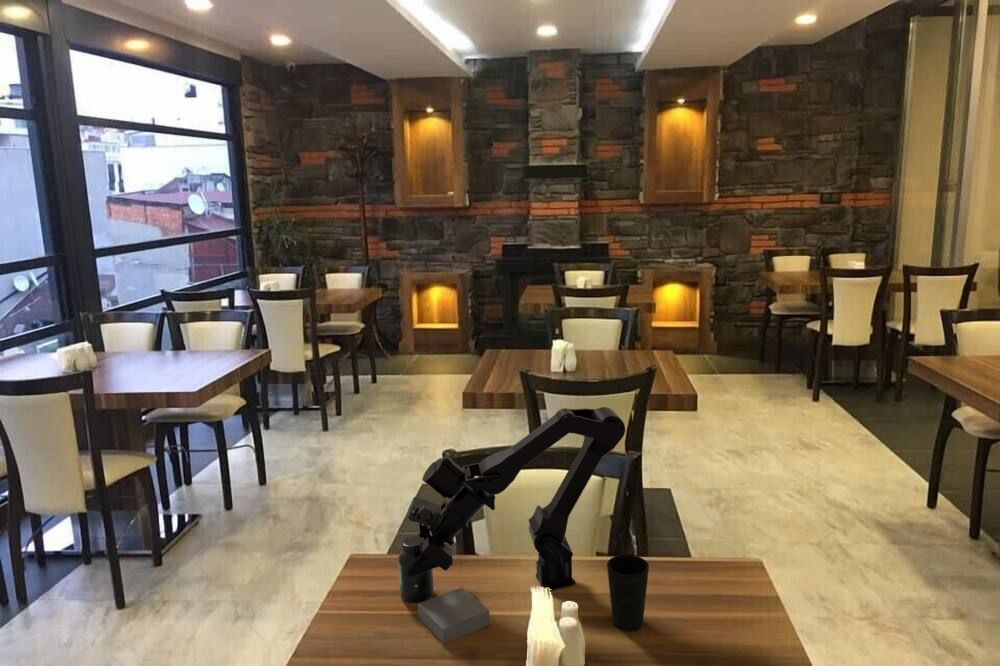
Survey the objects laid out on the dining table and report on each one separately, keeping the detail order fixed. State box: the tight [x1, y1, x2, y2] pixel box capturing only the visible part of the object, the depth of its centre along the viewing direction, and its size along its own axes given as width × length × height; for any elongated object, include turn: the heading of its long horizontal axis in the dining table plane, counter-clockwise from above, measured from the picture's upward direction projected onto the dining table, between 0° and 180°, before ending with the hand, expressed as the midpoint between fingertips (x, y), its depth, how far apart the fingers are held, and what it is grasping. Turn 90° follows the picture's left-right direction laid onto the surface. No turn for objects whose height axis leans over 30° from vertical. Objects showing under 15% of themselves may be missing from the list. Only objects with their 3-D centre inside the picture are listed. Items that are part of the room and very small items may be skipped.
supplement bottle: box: [397, 534, 435, 604], centre depth 151 cm, size 7×7×12 cm
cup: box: [606, 554, 650, 632], centre depth 139 cm, size 8×8×12 cm
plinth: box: [417, 587, 491, 645], centre depth 143 cm, size 10×10×3 cm
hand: (408, 565), depth 151 cm, fingers closed on supplement bottle, 7 cm apart
